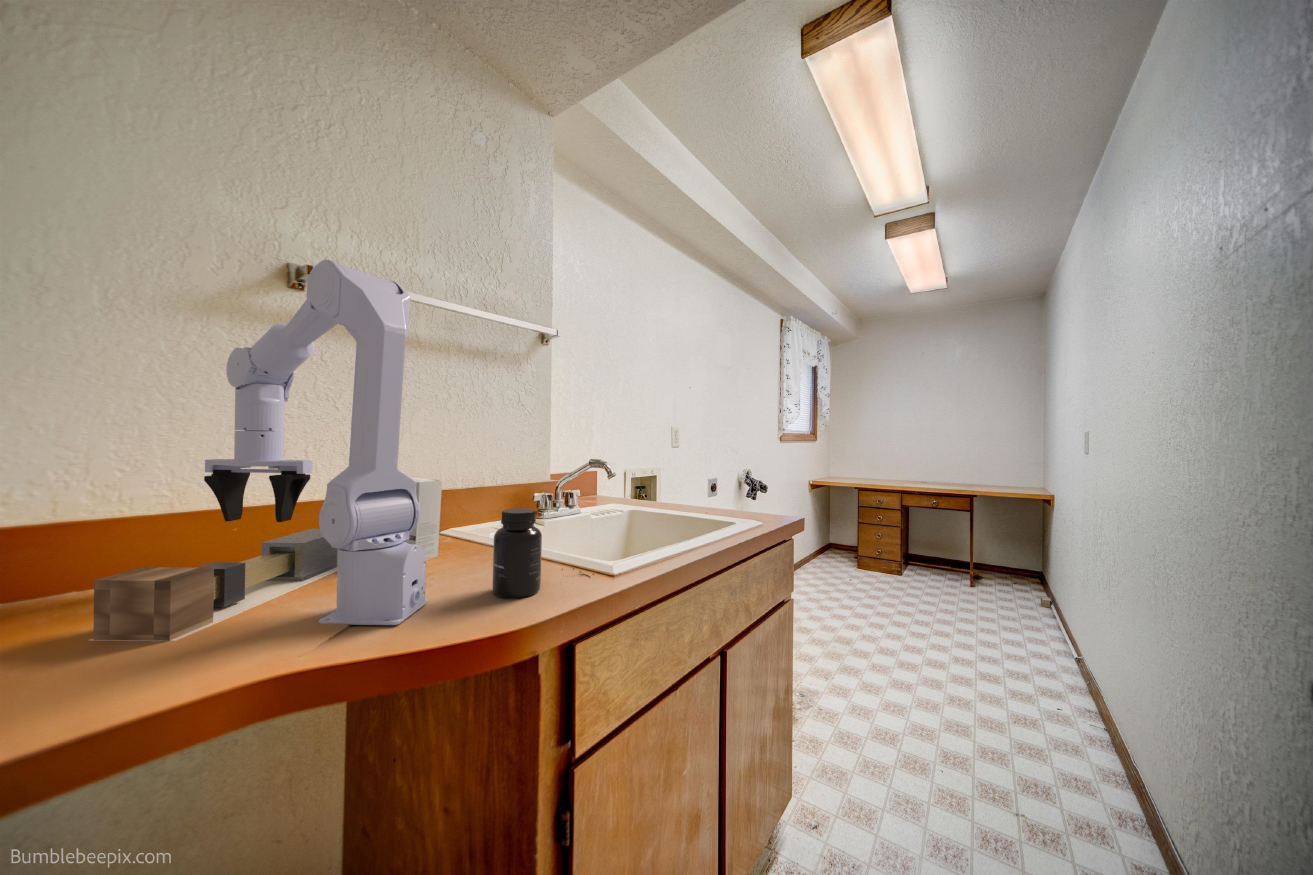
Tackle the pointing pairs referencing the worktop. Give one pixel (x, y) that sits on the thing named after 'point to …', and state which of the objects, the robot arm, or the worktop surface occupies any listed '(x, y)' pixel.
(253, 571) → the plug
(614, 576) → the worktop surface
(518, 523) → the supplement bottle
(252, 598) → the board
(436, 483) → the skincare box
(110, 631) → the socket
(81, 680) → the worktop surface
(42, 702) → the worktop surface
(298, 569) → the sleeve
